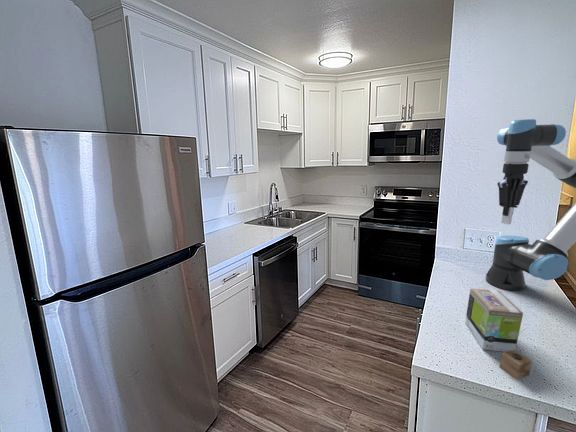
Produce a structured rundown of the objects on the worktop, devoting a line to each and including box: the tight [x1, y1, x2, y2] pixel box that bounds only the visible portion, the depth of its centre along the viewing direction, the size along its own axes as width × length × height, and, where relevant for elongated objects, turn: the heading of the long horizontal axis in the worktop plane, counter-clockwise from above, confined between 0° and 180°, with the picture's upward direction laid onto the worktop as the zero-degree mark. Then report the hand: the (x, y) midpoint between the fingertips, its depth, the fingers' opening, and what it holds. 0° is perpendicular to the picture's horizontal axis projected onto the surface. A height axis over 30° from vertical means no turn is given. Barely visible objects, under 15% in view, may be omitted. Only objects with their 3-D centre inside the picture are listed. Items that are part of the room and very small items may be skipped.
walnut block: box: [499, 349, 533, 380], centre depth 87 cm, size 5×5×5 cm
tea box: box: [464, 288, 524, 353], centre depth 100 cm, size 15×10×15 cm
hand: (506, 223), depth 116 cm, fingers closed
